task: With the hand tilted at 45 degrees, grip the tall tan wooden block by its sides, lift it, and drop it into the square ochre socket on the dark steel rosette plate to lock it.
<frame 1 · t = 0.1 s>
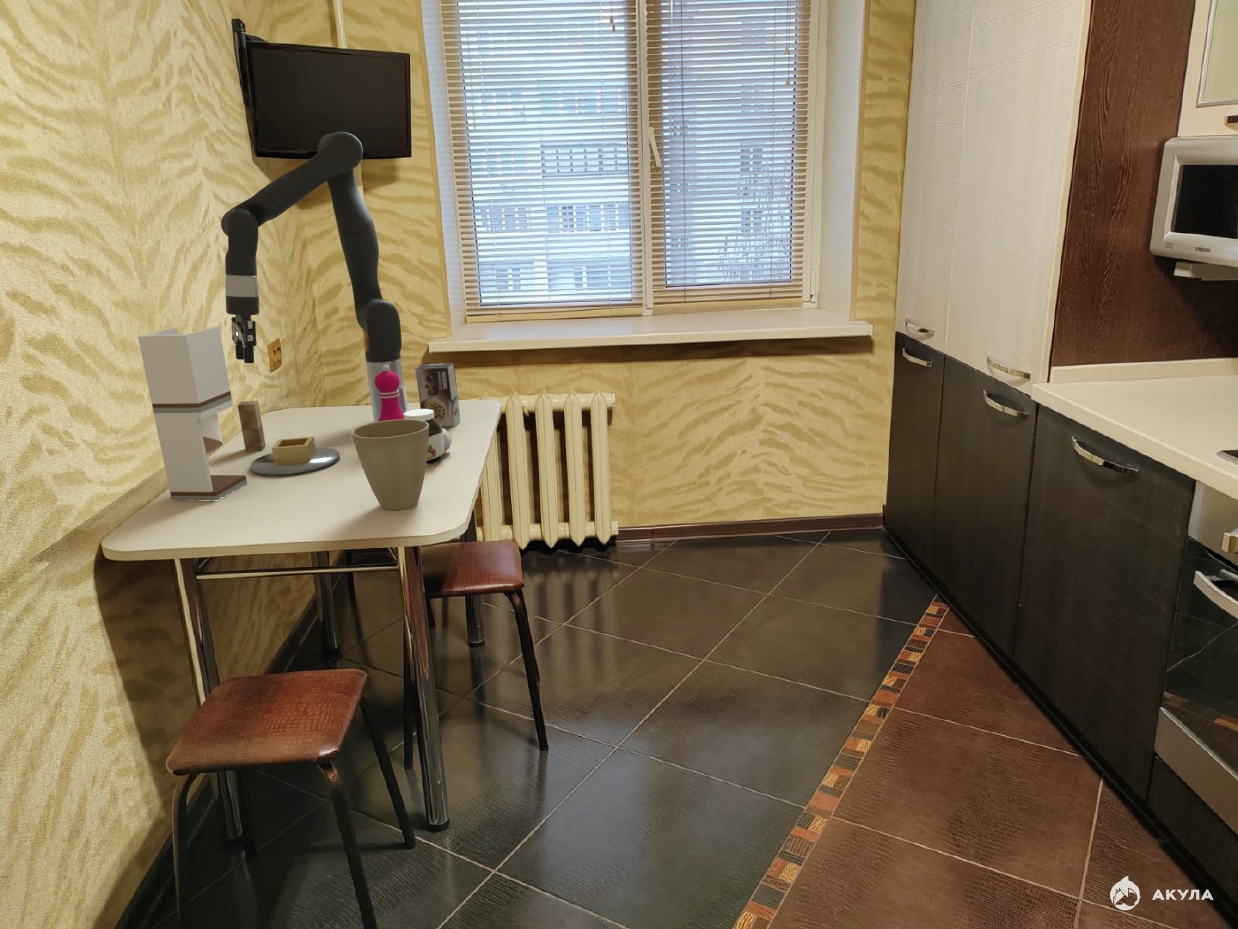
hand: (244, 361, 224), 22 cm above the table, tool pointing down, fingers open, 8 cm apart
tall tan wooden block: (255, 449, 229), on the table
plant pot: (400, 504, 183), on the table
pepper mill: (395, 444, 228), on the table
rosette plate: (296, 463, 215), on the table
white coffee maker: (210, 493, 197), on the table
coffee box: (441, 424, 245), on the table
spread jar: (428, 459, 214), on the table
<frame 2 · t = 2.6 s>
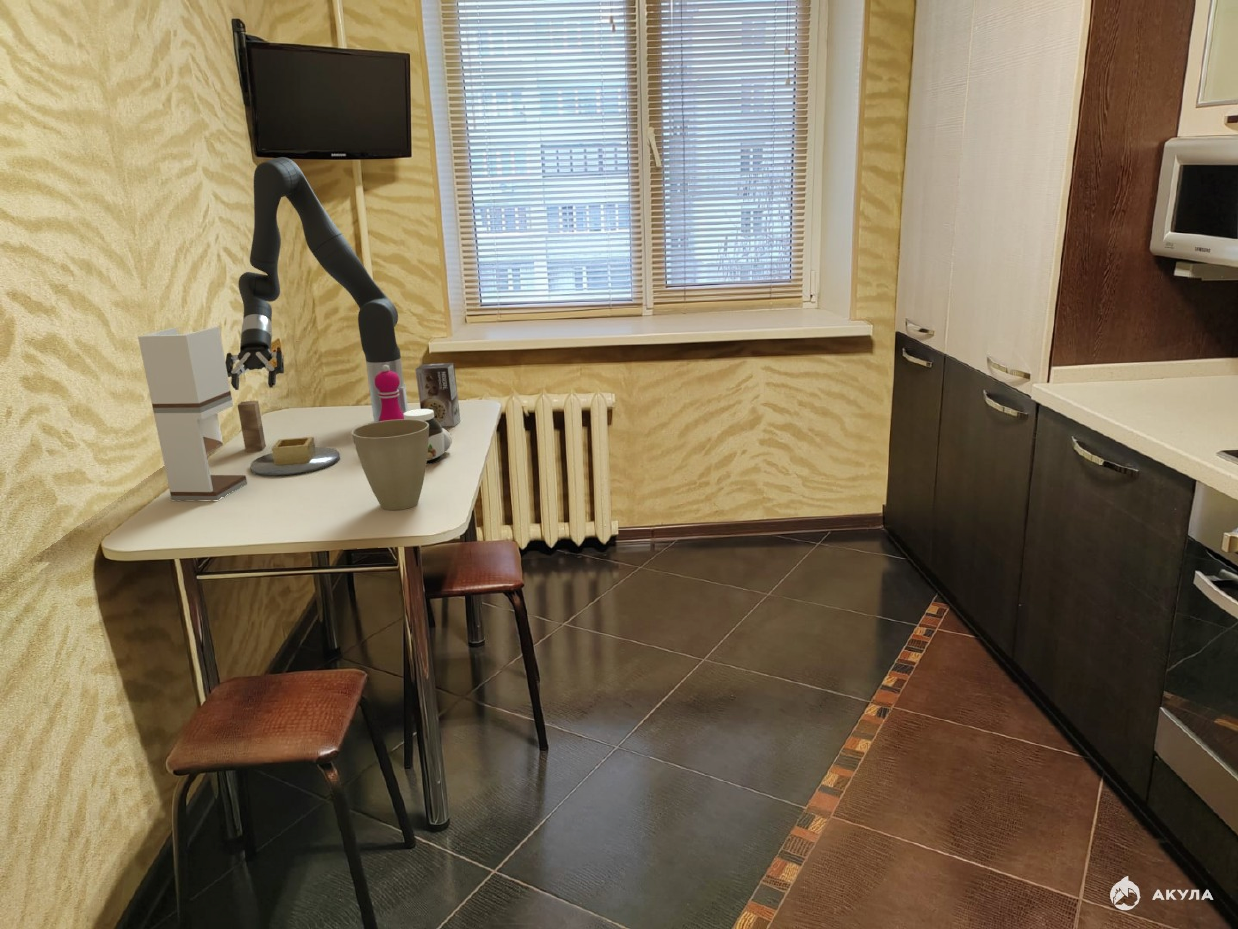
hand: (253, 387, 232), 14 cm above the table, tool tilted 45°, fingers open, 8 cm apart
nothing on the table moved.
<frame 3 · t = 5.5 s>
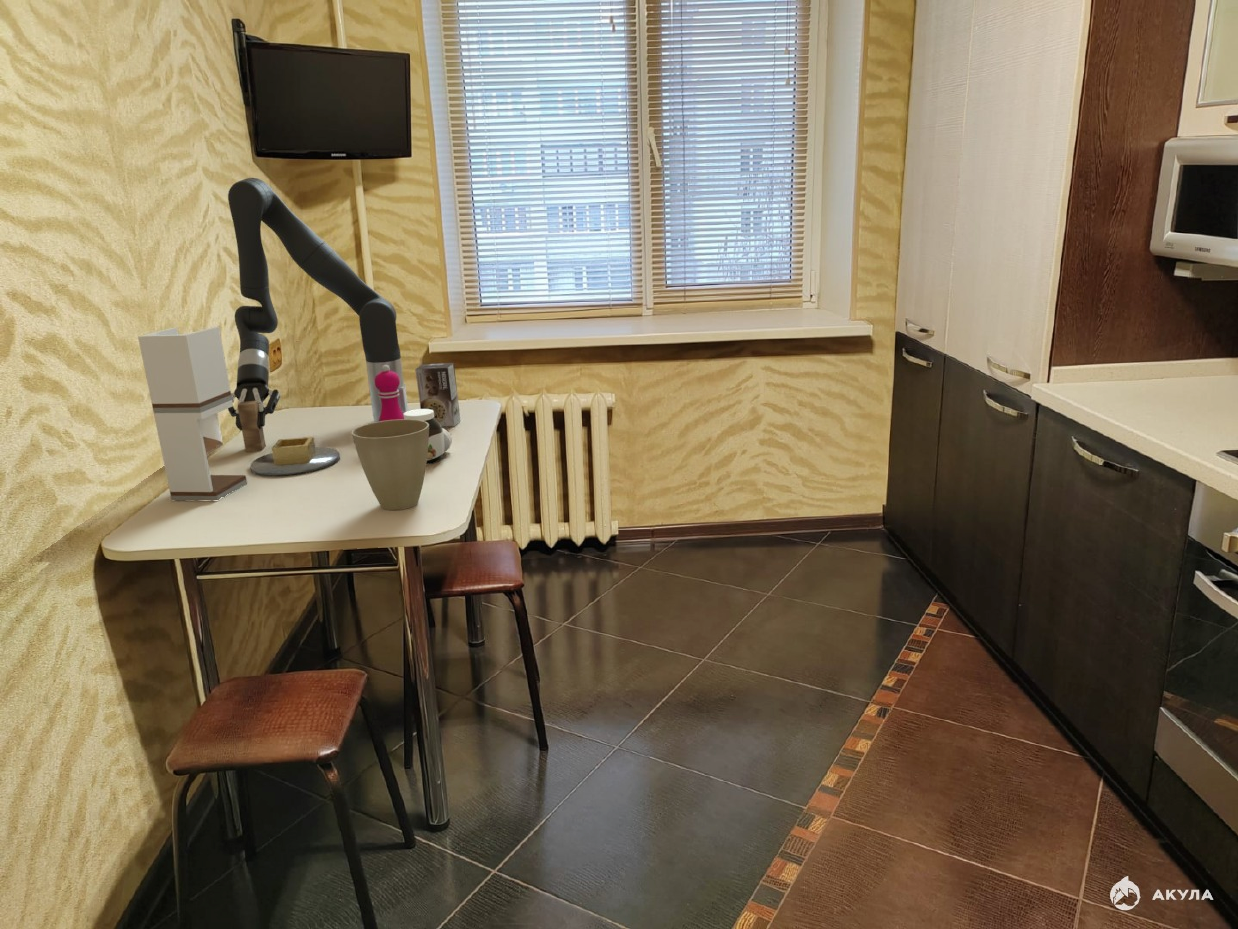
hand: (250, 427, 225), 6 cm above the table, tool tilted 45°, fingers closed on tall tan wooden block, 4 cm apart
tall tan wooden block: (255, 449, 229), on the table, touching gripper
everything else where it was.
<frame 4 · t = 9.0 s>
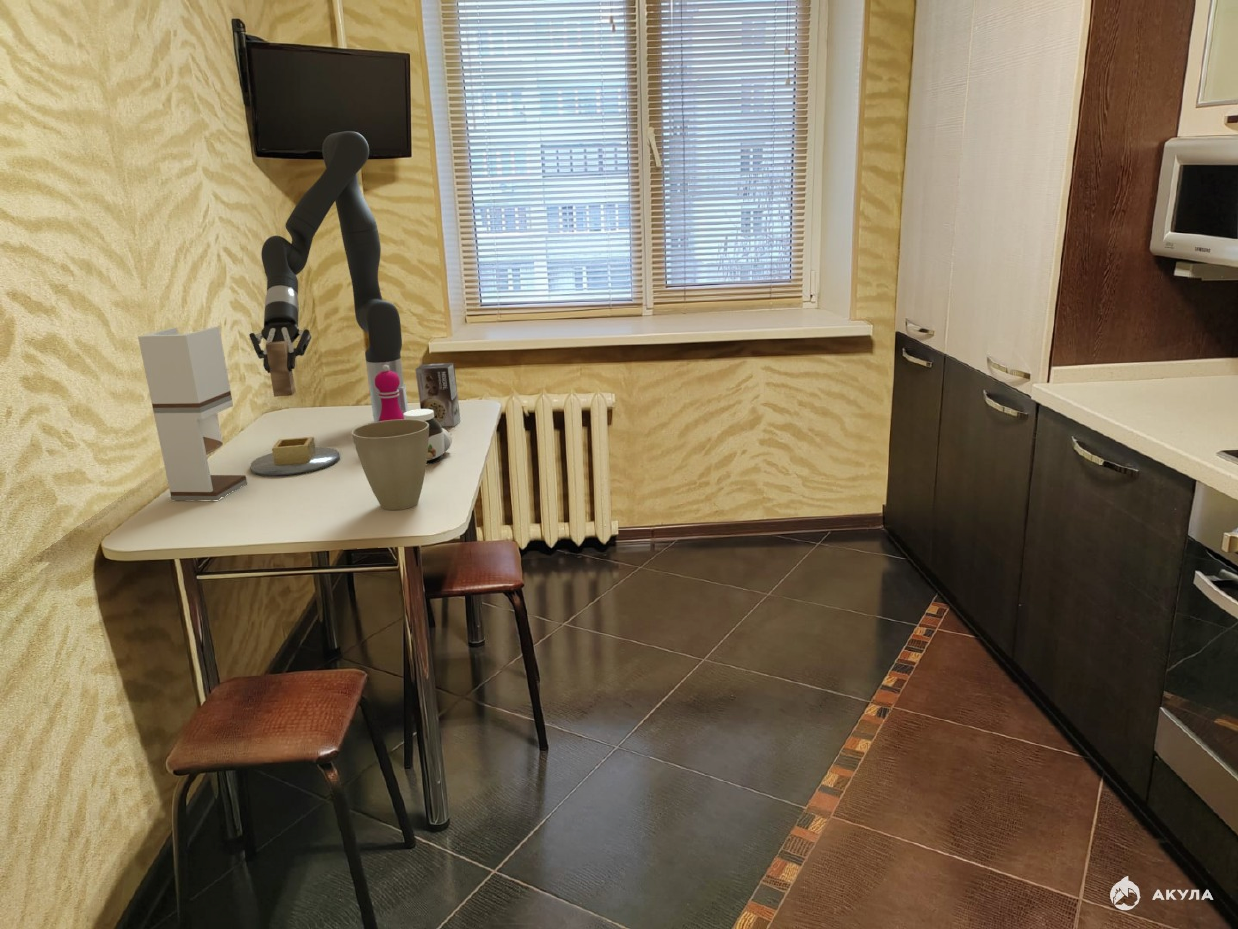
hand: (279, 369, 206), 23 cm above the table, tool tilted 45°, fingers closed on tall tan wooden block, 4 cm apart
tall tan wooden block: (284, 394, 210), point 17 cm above the table, touching gripper
everything else where it was.
when the fingers open (9 cm above the table, at t = 12.6 s): tall tan wooden block drops 1 cm, resting on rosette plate.
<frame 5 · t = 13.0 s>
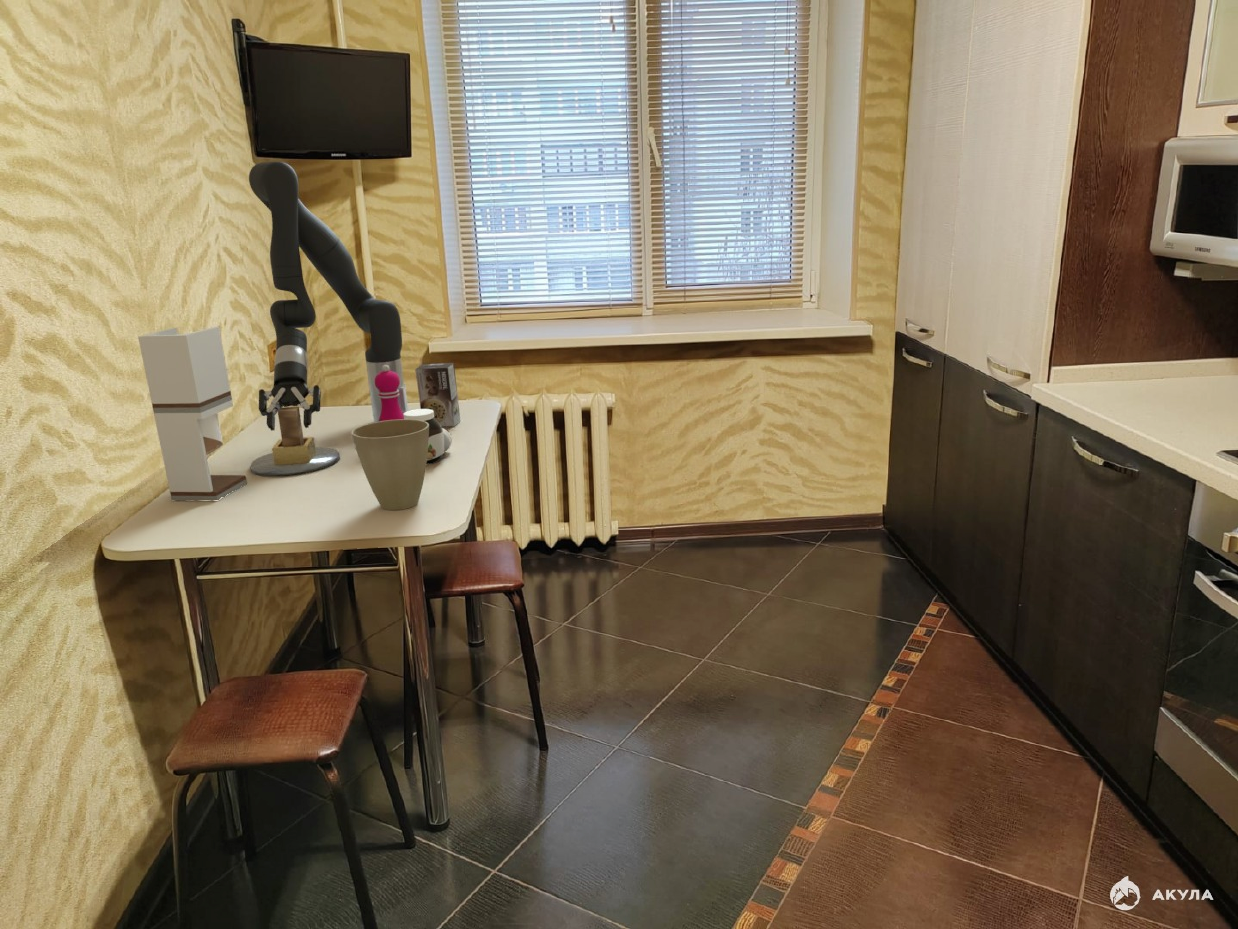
hand: (289, 427, 210), 9 cm above the table, tool tilted 45°, fingers open, 7 cm apart
tall tan wooden block: (295, 458, 214), point 1 cm above the table, touching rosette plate
everything else where it was.
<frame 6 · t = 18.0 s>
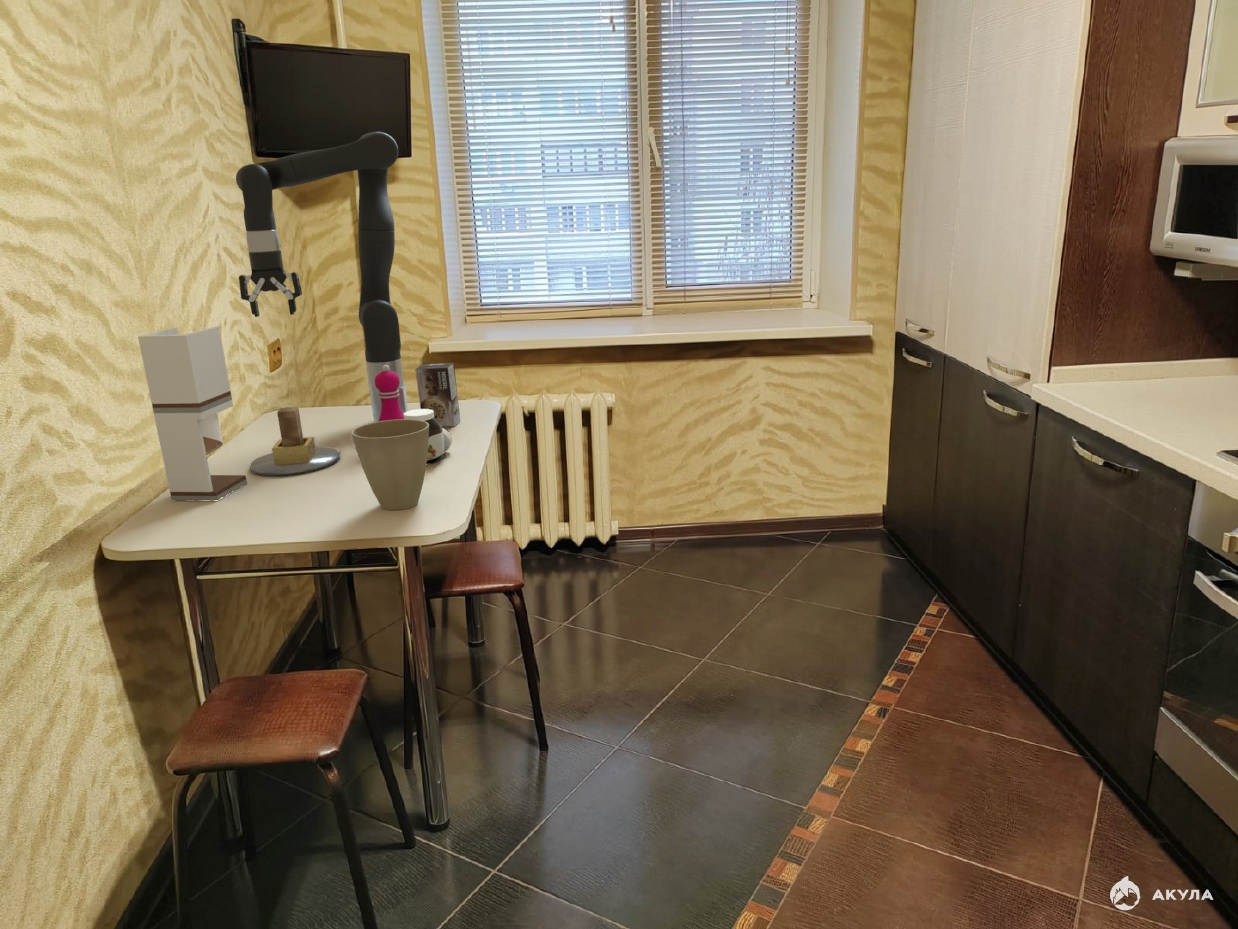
hand: (275, 315, 228), 32 cm above the table, tool pointing down, fingers open, 8 cm apart
nothing on the table moved.
at the end: tall tan wooden block 0.0 cm off-centre on the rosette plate, point 1.2 cm above the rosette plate's base; tall tan wooden block tilted 0°; the gripper is holding nothing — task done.
